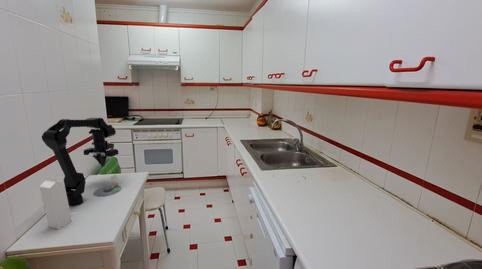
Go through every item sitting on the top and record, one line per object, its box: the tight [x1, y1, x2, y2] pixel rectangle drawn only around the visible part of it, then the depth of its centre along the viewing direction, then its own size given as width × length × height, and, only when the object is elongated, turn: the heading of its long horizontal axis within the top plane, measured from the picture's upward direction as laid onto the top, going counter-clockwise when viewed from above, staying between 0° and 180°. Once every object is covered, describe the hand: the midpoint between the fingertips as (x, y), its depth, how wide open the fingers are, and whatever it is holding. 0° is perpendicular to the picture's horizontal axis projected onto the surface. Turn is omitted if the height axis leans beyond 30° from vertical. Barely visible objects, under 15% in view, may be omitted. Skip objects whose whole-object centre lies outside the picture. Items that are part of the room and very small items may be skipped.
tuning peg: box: [103, 175, 119, 192], centre depth 135 cm, size 9×4×6 cm, turn 167°
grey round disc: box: [92, 184, 123, 198], centre depth 134 cm, size 14×14×1 cm
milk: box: [39, 176, 72, 230], centre depth 102 cm, size 6×6×22 cm
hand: (103, 166), depth 138 cm, fingers closed
